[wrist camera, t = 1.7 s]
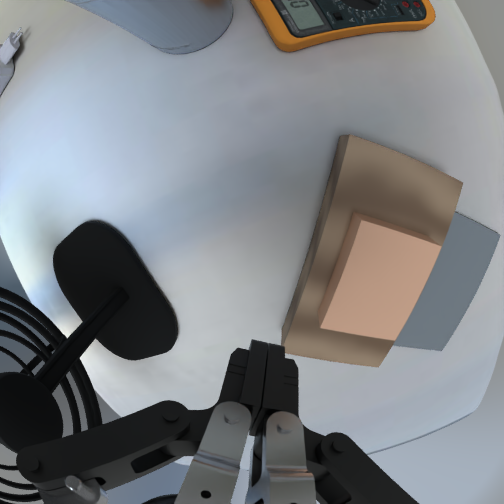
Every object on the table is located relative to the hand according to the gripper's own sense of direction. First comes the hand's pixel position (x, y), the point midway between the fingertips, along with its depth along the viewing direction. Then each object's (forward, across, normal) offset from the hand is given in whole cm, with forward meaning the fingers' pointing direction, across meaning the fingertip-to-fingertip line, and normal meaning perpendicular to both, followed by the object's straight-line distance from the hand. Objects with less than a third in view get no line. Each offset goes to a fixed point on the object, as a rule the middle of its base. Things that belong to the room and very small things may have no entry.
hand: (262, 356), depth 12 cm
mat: (+17, -21, +1) cm, 27 cm away
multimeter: (+17, -2, -26) cm, 31 cm away
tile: (+13, -9, 0) cm, 16 cm away
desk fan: (+17, +20, +14) cm, 29 cm away
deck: (+17, -9, 0) cm, 19 cm away
